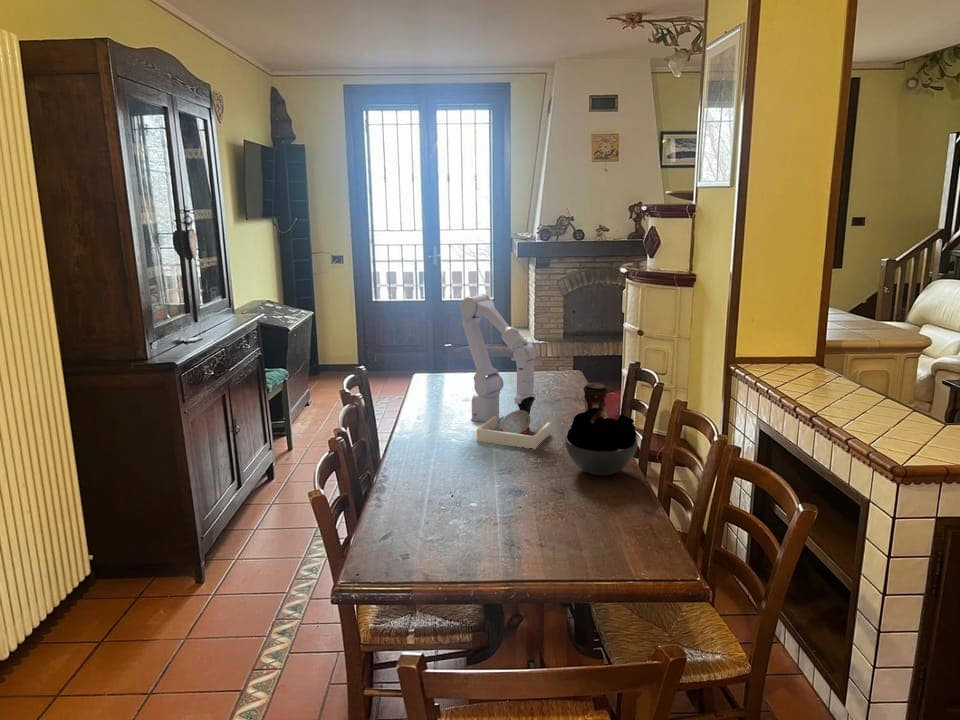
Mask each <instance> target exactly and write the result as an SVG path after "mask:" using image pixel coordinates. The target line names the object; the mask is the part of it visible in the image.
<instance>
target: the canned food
mask: <svg viewBox="0 0 960 720" xmlns="http://www.w3.org/2000/svg"><path fill="white" fill-rule="evenodd" d="M530 424H531V416H530V415H529V414H528V412H526V411H525V410H520V409H517V410H514V411H512V412H510V413H508V414H506V416H504V417H503V418H501V422H500V424H499V425H500V428H499V431H501V432H508V433H516V434H523V435H530V436H531V428H530Z"/></svg>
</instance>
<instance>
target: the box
mask: <svg viewBox="0 0 960 720" xmlns="http://www.w3.org/2000/svg"><path fill="white" fill-rule="evenodd" d="M496 428H498V421H497V416H493V417H492V418H491V419H490V420H488V421H487V422H484V423H483V424H481V425H480V426H479V427H477V429H476V442H480V441H481V442H480V443H487V442H488V443H489V444H494V443H495V445H501V446H502V445H503V446H510V447H515V446H516V447H515V448H522V447H524V449H529V448H533V449H532V450H536V449H538V447H539V446H540V445H541V444H542V443H543V442H544V441H545V440H546V439H547V438H548V437H549V436H550V435H551V422H549V421H548V422H546V423H545V424H544V425H543V426H542V427H541V428H540V429H539V430H538V431H537V432H536V433H535V434H534V435H531V434H530V435H523V434H516V433H508V432H501V431H500V430H495V429H496ZM547 436H548V437H547ZM546 437H547V438H546ZM545 438H546V439H545ZM544 439H545V440H544ZM543 440H544V441H543ZM542 441H543V442H542ZM541 442H542V443H541ZM488 443H487V444H488ZM540 443H541V444H540ZM539 444H540V445H539ZM538 445H539V446H538ZM537 446H538V447H537Z"/></svg>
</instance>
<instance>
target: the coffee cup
mask: <svg viewBox="0 0 960 720" xmlns="http://www.w3.org/2000/svg"><path fill="white" fill-rule="evenodd" d="M582 390H583V392H584V396H583V397H584V398H583V399H584V400H583V401H584V412H586V411H588V410H589V409H592V408H601V409H600V410H599V411H598V412H597V413H596V414H594V415H593V416H592V417H591V422H592V423H594V421H595V420H596V419H597V418H598V417H601V418H603V419H605V414H606V413H605V412H606V404H607V397H608V396H607V395H608V393H609V390H608V388H607V386H606V385H605V384H603V383H600V382H588V383H586V384H585V385H584V387H583V389H582Z"/></svg>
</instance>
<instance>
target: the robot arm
mask: <svg viewBox="0 0 960 720" xmlns="http://www.w3.org/2000/svg"><path fill="white" fill-rule="evenodd" d="M460 303H461V304H460V305H459V309H460V312H461V324H462V326H463V331H464V333H465V337H466V339H467V343H468V346H469V350H470V352H471V357H472V359H473V363H474V366H475V369H476V372H475V373H474V376H473V381H474V384H473V386H474V391H475V393H474V394H473V396H472V398H471V418H470V420H471V421H476V422H482V423H483V422H484V423H486V422H487V421H488V420H490V419H491V418H492V417H493V416H497V422H498V421H500V420H502V419H503V418H505V416H504V415H502V414H500V394H501V391H502V389H503V388H504V379H503V377H502V376H501V375H500V374H499V373H500V372H499V371H498V369H497V368H495V367H494V366H492V362H491V360H490V356H489V351H488V350H487V346H486V343H485V340H484V337H483V333H482V330H481V327H480V322H481V320H482V318H486V319H487V320H488V321H489V323H491V324H492V325H493V326H494V328H495V329H497V330H498V331H499V332H500V334H501V340H503V342H504V343H505V344H506V345H507V347H508V348H509V349H510V350H511V351H512V356H513V358H514V361H515V364H516V392H515V397H514V404H517V406H518V410H525V411H526V412H528V414H529V416H530V414H531V410H532V406H533V404H534V402H535V400H536V396H537V395H538V392H536V386H535V359H536V358H537V356H538V354H539V353H538V348H537V347H536V344H534V343H532V342H529V341H528V340H527V339H526V338H524V337H523V335H522V334H521V333H520V332H519V329H518V328H515V327H513V326H509V324H508V323H507V321H506V320H505V319H504V318H503V316H502V315H501V314H500V312H499V311H498V310H497V309H496V307H495V304H494V301H493V300H492V299H491V297H490V296H488V295H487V294H486V293H483V294H480V295H474V296H467V297H464V298H463V299H462V301H461V302H460Z"/></svg>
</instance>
